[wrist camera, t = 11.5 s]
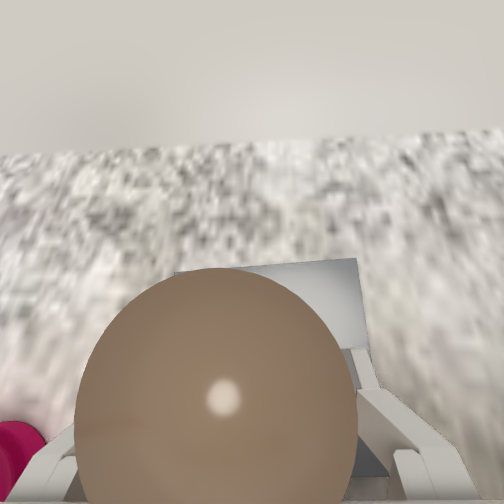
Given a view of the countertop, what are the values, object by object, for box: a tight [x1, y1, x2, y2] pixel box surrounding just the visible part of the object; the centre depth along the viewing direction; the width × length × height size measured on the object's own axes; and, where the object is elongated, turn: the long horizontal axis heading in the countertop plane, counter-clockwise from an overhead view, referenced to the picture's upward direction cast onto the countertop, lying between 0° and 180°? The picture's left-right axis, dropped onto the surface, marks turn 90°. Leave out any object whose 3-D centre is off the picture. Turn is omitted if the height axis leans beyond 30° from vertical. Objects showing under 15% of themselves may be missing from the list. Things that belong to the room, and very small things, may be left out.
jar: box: [74, 268, 358, 504], centre depth 11 cm, size 5×5×11 cm
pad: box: [174, 258, 389, 477], centre depth 20 cm, size 12×12×1 cm
